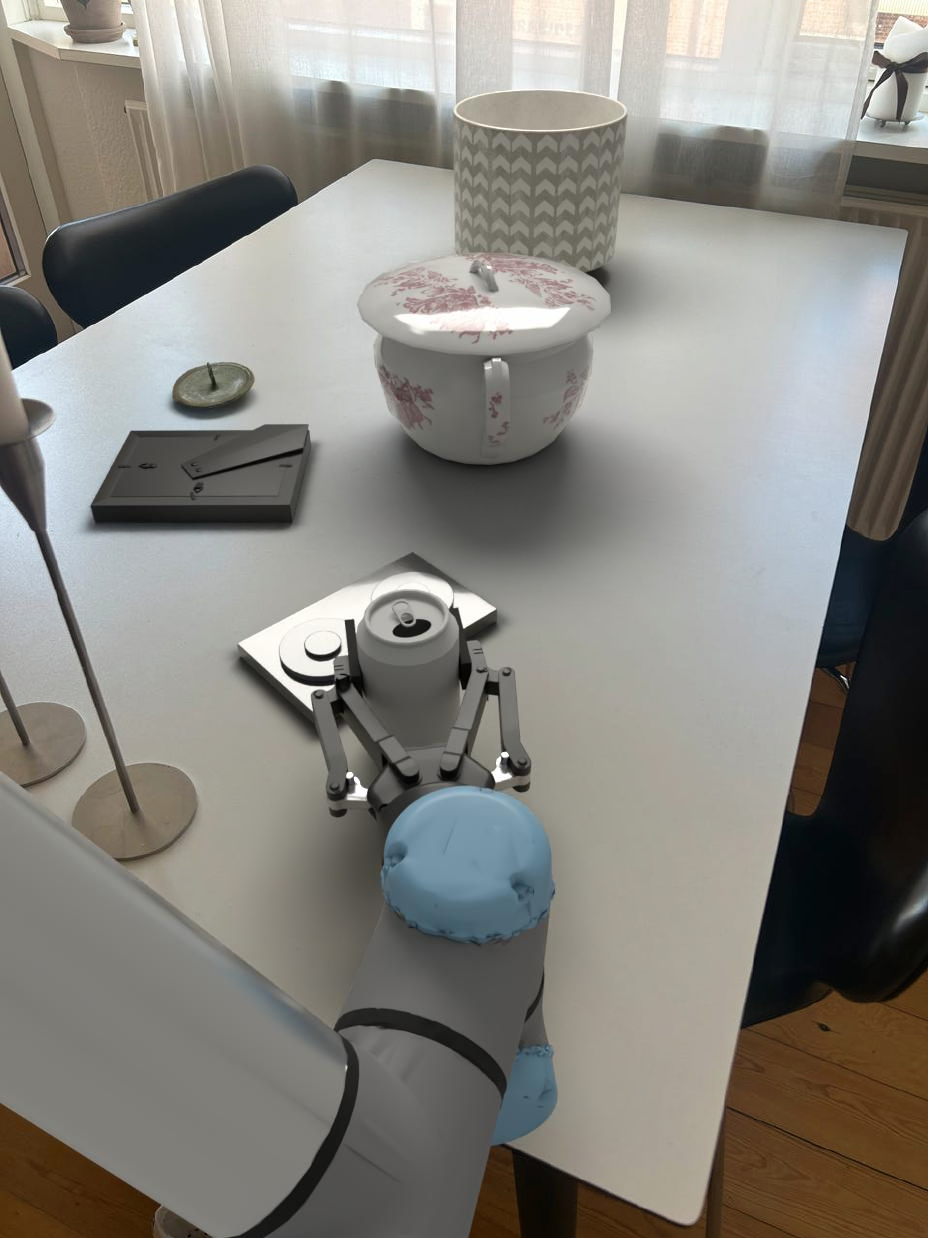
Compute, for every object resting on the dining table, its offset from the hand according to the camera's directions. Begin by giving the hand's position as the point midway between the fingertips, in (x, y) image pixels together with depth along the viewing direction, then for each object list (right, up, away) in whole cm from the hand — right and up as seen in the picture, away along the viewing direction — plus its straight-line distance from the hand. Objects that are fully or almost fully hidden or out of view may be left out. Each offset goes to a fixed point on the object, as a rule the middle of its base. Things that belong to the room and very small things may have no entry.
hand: (402, 626), depth 76 cm
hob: (-4, -1, +11) cm, 11 cm away
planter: (+16, +56, +78) cm, 97 cm away
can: (+1, -8, +1) cm, 8 cm away
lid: (-27, +29, +47) cm, 61 cm away
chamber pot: (+7, +22, +39) cm, 45 cm away
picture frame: (-24, +16, +31) cm, 42 cm away
